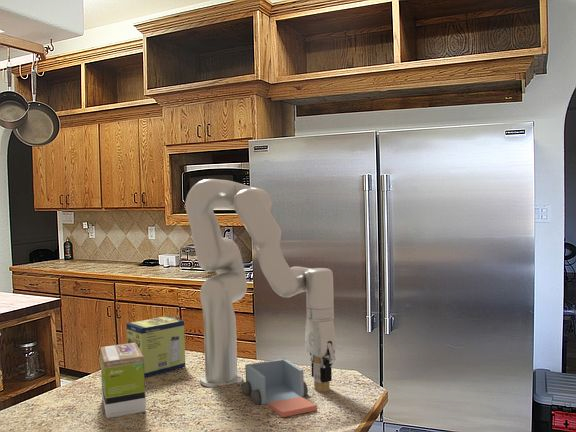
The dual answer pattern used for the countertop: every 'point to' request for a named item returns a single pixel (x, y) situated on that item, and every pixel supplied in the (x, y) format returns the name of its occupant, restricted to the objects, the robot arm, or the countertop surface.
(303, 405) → the panel
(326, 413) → the countertop surface
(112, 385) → the tea box
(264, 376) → the box
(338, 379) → the countertop surface
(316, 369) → the sprinkles bottle
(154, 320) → the protein box
